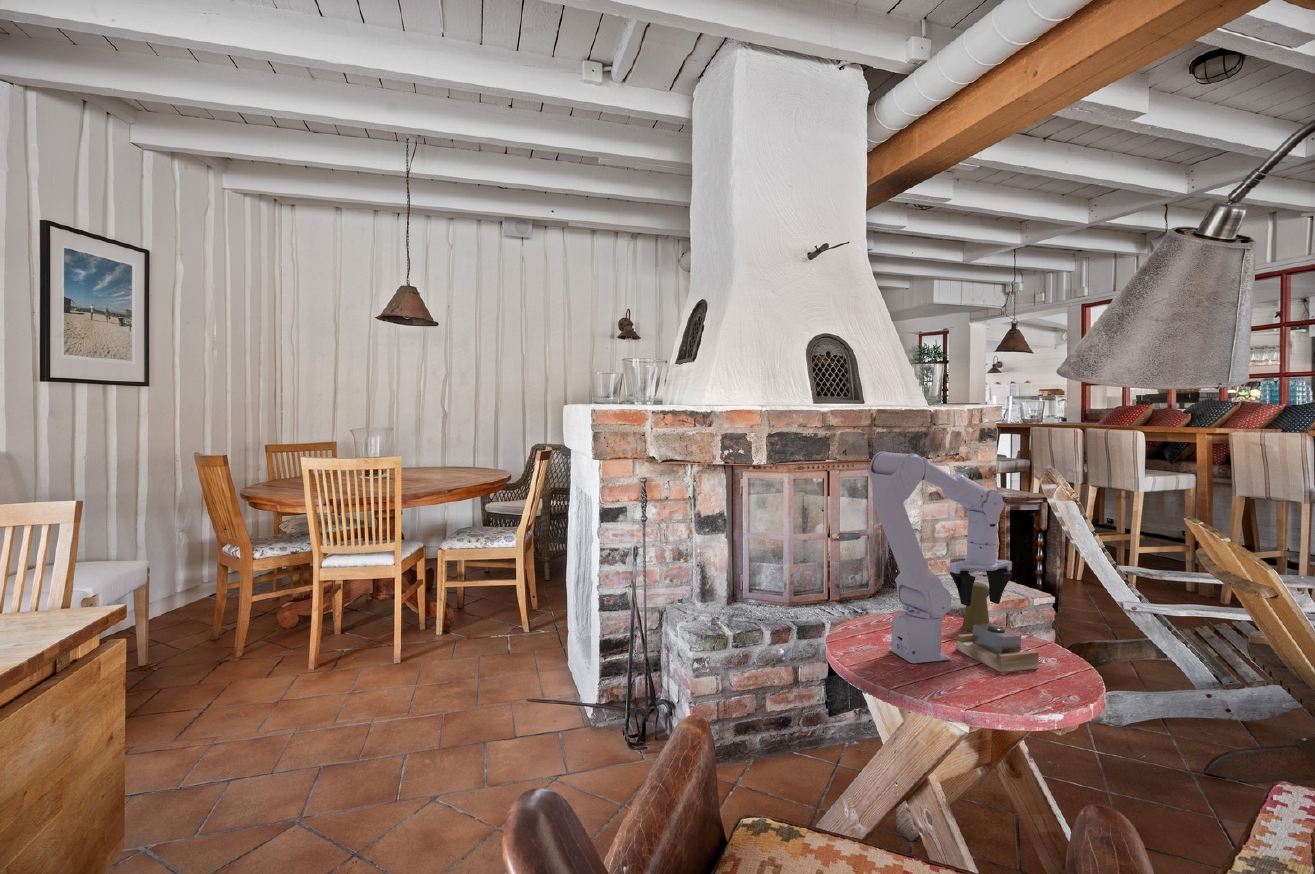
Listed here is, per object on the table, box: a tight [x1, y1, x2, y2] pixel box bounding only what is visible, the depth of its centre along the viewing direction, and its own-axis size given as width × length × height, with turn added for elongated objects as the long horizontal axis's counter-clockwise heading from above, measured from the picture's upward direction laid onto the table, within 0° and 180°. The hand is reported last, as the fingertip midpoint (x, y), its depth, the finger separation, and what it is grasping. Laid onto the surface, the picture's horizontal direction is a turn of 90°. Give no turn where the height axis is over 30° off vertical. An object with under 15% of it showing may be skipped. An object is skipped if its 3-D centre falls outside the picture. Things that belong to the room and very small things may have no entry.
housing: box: [972, 622, 1022, 655], centre depth 130 cm, size 8×5×4 cm, turn 14°
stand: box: [956, 633, 1040, 673], centre depth 130 cm, size 12×9×3 cm
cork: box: [961, 581, 990, 632], centre depth 148 cm, size 6×6×11 cm
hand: (980, 603), depth 137 cm, fingers open, 7 cm apart
